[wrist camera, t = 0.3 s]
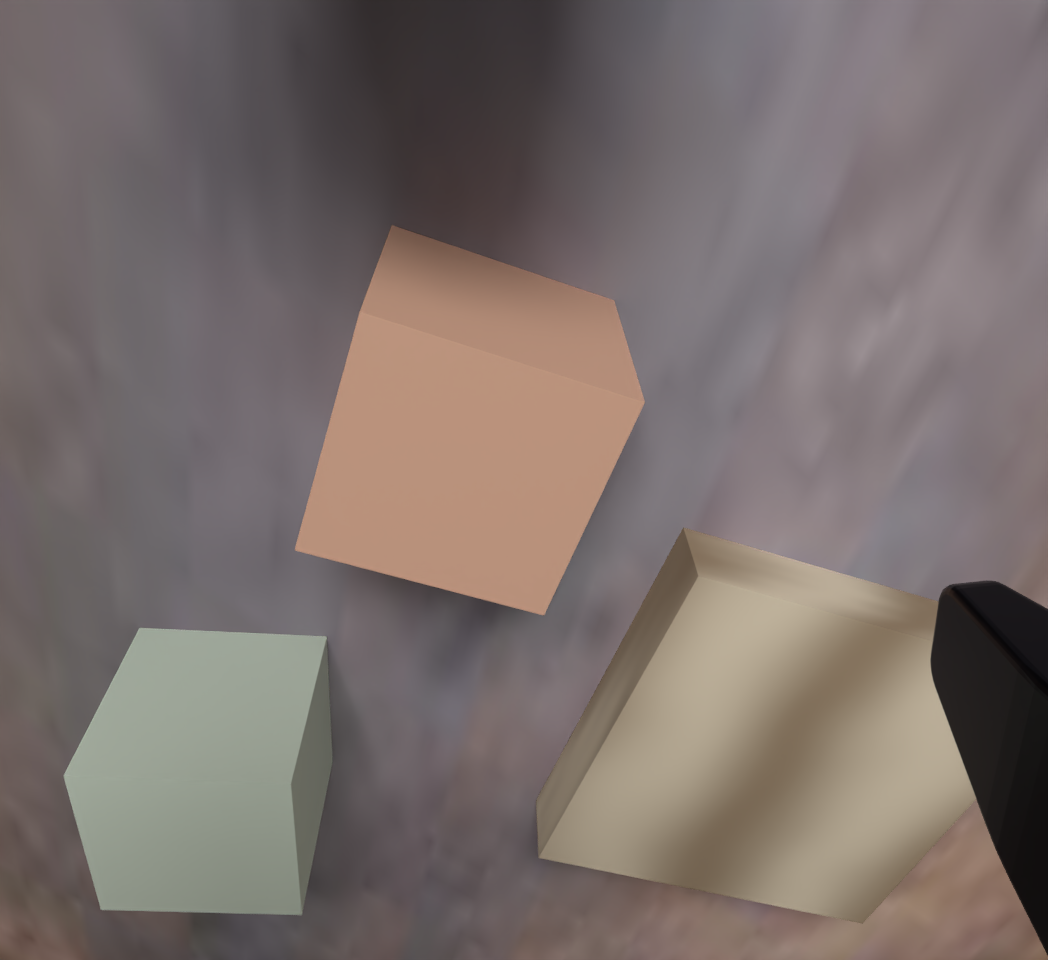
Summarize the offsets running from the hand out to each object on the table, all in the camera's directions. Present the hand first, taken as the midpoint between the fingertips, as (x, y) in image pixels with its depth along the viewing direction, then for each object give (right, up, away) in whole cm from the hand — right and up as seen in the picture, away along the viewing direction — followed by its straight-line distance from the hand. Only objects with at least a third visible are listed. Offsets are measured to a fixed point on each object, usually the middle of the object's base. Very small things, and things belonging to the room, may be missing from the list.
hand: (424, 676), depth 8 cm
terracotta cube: (0, +4, +12) cm, 13 cm away
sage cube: (-7, -4, +18) cm, 20 cm away
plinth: (+8, -5, +19) cm, 21 cm away
